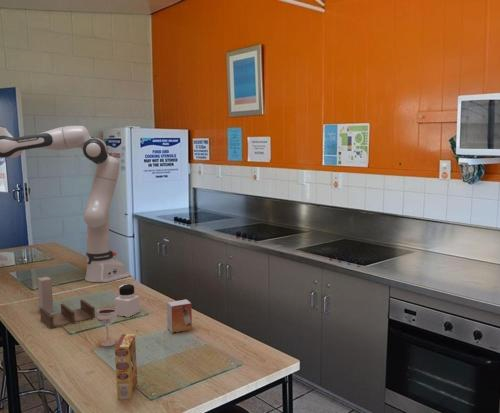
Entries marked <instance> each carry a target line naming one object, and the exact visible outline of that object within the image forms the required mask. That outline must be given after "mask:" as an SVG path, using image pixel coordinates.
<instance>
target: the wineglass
mask: <svg viewBox="0 0 500 413" xmlns="http://www.w3.org/2000/svg"><path fill="white" fill-rule="evenodd" d="M96 313H97V314H96V320H97V322H98V323H99V324H101V325H103V326H104V327H106V328H105V329H106V331H105V332H106V339H107V340H105V341H104V340H103V341H101V343H100V345H101V346H102V347H110V346H113V345H115V344H116V341H115V340H112V339H111V340H109V326H110V325H111V324H113V323H114V322H115V321H117V317H118V315H117V313H116V308H115V306H114V307H113V306H105V307H104V306H103V307H101V308H99V309H97V310H96Z"/></svg>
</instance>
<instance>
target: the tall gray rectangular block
mask: <svg viewBox="0 0 500 413" xmlns="http://www.w3.org/2000/svg"><path fill="white" fill-rule="evenodd" d="M52 281H53V280H52V278H50V277H49V276H43V277H38V278H37V286H38V287H37V289H38V304H39V307H38V308H39V309H40V308H44V309H45V310H46V311H47V312H48V313H49V314H51V313H54V300H53V298H54V297H53V284H52V283H53V282H52Z"/></svg>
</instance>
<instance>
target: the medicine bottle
mask: <svg viewBox="0 0 500 413" xmlns="http://www.w3.org/2000/svg"><path fill="white" fill-rule="evenodd" d="M118 295H119V296H117V297H115V298H114V308H116V313H117V316H118V315H119V317H123V316H125V318H130V316H131V317H132V315H133V316H135V315H137V314H139V313H140V295H136V294H135V286H134V285H133V284H130V283H126V284H121V285H120V286H119V287H118ZM138 312H139V313H138ZM136 313H137V314H136ZM134 314H135V315H134Z"/></svg>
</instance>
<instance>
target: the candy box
mask: <svg viewBox="0 0 500 413" xmlns="http://www.w3.org/2000/svg"><path fill="white" fill-rule="evenodd" d="M114 357H115V360H114V361H115V380H116V398H117V401H118V400H121V401H122V400H131V399H132V398H133V396H134V394H135V391H136V389H137V386H136V385H138V371H137V370H138V368H137V367H138V366H137V347H136V334H135V333H134V334H133V333H132V334H131V333H129V334H128V333H127V334H121V335H120V336H119V339H118V341H117V343H116V345H115V346H114ZM135 388H136V389H135Z"/></svg>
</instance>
